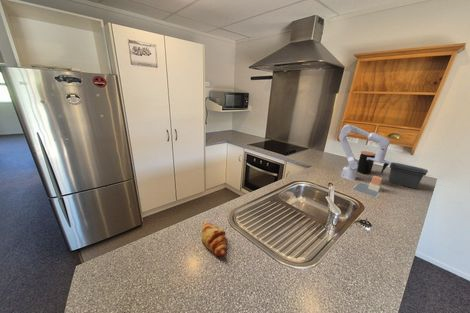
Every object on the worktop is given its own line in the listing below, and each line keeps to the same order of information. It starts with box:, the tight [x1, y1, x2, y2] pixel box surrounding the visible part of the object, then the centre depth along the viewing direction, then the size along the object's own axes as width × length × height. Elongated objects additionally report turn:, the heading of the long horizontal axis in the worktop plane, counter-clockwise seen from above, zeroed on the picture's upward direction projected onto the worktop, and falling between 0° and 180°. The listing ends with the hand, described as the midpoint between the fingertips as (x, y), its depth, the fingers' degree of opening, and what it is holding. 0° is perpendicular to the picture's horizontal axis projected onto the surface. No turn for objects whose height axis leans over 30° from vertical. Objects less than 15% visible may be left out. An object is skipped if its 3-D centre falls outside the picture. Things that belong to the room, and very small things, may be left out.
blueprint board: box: [351, 181, 384, 199], centre depth 131 cm, size 15×20×5 cm
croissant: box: [201, 221, 227, 258], centre depth 78 cm, size 21×10×8 cm, turn 28°
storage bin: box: [388, 161, 429, 190], centre depth 143 cm, size 21×16×14 cm
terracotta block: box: [369, 175, 383, 186], centre depth 130 cm, size 5×5×5 cm
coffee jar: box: [357, 150, 376, 175], centre depth 161 cm, size 11×11×18 cm
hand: (375, 171), depth 139 cm, fingers open, 7 cm apart
